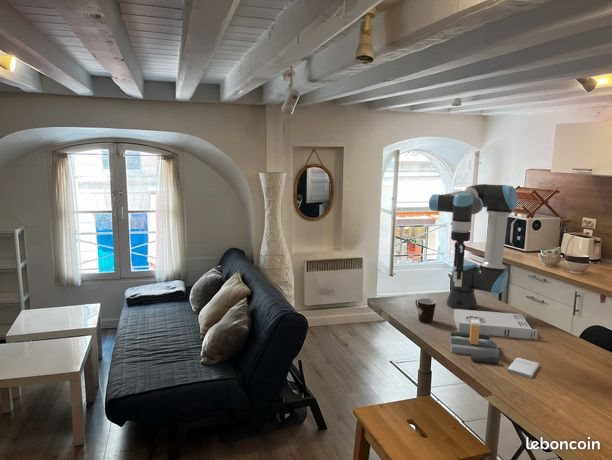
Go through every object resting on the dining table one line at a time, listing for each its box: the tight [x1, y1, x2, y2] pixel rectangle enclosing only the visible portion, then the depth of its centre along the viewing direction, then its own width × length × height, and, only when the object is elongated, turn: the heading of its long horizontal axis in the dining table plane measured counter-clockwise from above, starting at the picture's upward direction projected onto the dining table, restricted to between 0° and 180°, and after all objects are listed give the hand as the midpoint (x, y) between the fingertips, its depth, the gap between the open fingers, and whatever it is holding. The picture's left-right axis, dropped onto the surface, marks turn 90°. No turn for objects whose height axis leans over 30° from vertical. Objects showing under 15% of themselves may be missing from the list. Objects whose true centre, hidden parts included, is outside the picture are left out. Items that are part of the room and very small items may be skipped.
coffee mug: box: [415, 297, 437, 324], centre depth 213 cm, size 12×9×10 cm
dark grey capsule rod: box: [470, 355, 500, 365], centre depth 171 cm, size 10×2×2 cm, turn 76°
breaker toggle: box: [469, 319, 480, 345], centre depth 181 cm, size 3×4×9 cm
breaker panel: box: [448, 335, 500, 359], centre depth 183 cm, size 18×11×3 cm, turn 76°
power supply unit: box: [453, 308, 539, 340], centre depth 205 cm, size 19×33×5 cm, turn 78°
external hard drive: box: [506, 357, 540, 379], centre depth 167 cm, size 2×8×12 cm
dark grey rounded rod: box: [450, 331, 491, 340], centre depth 193 cm, size 16×2×2 cm, turn 76°
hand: (457, 283), depth 188 cm, fingers open, 7 cm apart
